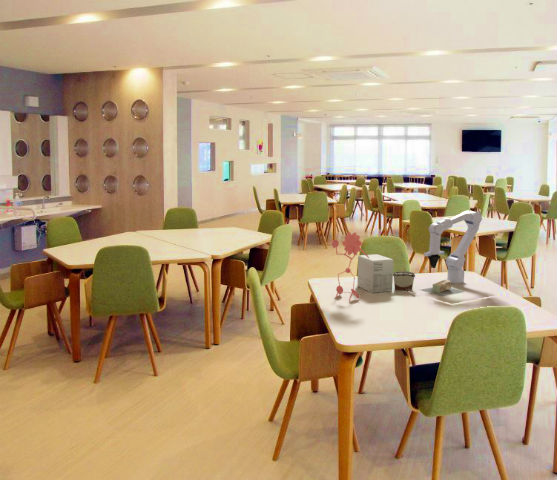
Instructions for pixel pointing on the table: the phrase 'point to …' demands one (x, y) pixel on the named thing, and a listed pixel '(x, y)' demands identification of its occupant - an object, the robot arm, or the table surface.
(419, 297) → the table surface
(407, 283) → the food container
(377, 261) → the supplement box
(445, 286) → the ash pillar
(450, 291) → the mat
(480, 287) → the table surface
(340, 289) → the figurine
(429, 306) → the table surface
